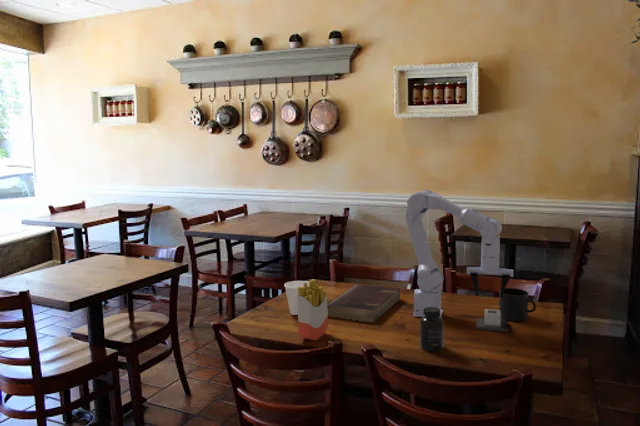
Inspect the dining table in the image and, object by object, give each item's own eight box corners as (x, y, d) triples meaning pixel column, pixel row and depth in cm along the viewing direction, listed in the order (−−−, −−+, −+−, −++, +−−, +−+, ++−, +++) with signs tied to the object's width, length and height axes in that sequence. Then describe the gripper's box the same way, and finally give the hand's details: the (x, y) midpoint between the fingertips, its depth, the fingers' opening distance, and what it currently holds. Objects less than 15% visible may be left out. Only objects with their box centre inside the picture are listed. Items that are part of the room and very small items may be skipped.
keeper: (476, 329, 171) (476, 317, 170) (477, 321, 178) (477, 309, 178) (508, 332, 168) (508, 320, 167) (508, 323, 175) (508, 312, 174)
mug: (533, 324, 174) (534, 298, 172) (496, 319, 180) (496, 293, 178) (537, 316, 182) (538, 290, 180) (502, 311, 188) (502, 286, 186)
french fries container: (329, 332, 171) (327, 279, 168) (310, 344, 162) (309, 287, 159) (317, 330, 173) (316, 277, 171) (298, 341, 164) (296, 285, 162)
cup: (280, 316, 188) (279, 286, 186) (292, 308, 197) (291, 279, 196) (305, 319, 184) (304, 289, 183) (316, 310, 193) (315, 281, 192)
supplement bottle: (417, 343, 160) (417, 306, 158) (439, 342, 160) (439, 304, 159) (423, 352, 153) (423, 313, 151) (446, 351, 154) (446, 312, 152)
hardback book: (355, 295, 213) (355, 283, 212) (399, 300, 205) (399, 287, 204) (324, 317, 188) (323, 303, 187) (373, 324, 179) (373, 310, 178)
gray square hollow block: (484, 325, 171) (484, 313, 170) (484, 320, 176) (484, 308, 175) (500, 326, 170) (500, 314, 169) (500, 321, 174) (500, 310, 174)
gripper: (466, 257, 170) (465, 297, 172) (514, 259, 165) (512, 301, 167) (467, 252, 177) (467, 291, 179) (513, 255, 172) (512, 294, 174)
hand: (489, 295), depth 173 cm, fingers open, 7 cm apart
